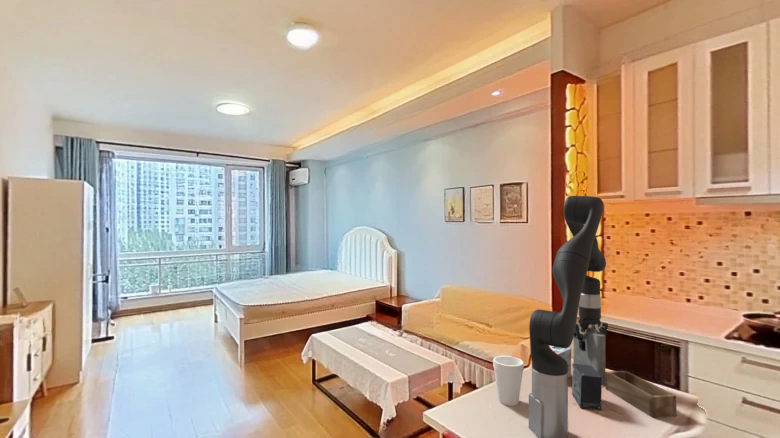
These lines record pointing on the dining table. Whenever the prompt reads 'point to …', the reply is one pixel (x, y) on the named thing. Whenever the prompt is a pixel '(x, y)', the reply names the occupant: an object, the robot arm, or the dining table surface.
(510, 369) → the foam cup
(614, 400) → the dining table surface
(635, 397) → the wooden open tray
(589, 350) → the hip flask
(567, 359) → the light bulb box
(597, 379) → the small box
